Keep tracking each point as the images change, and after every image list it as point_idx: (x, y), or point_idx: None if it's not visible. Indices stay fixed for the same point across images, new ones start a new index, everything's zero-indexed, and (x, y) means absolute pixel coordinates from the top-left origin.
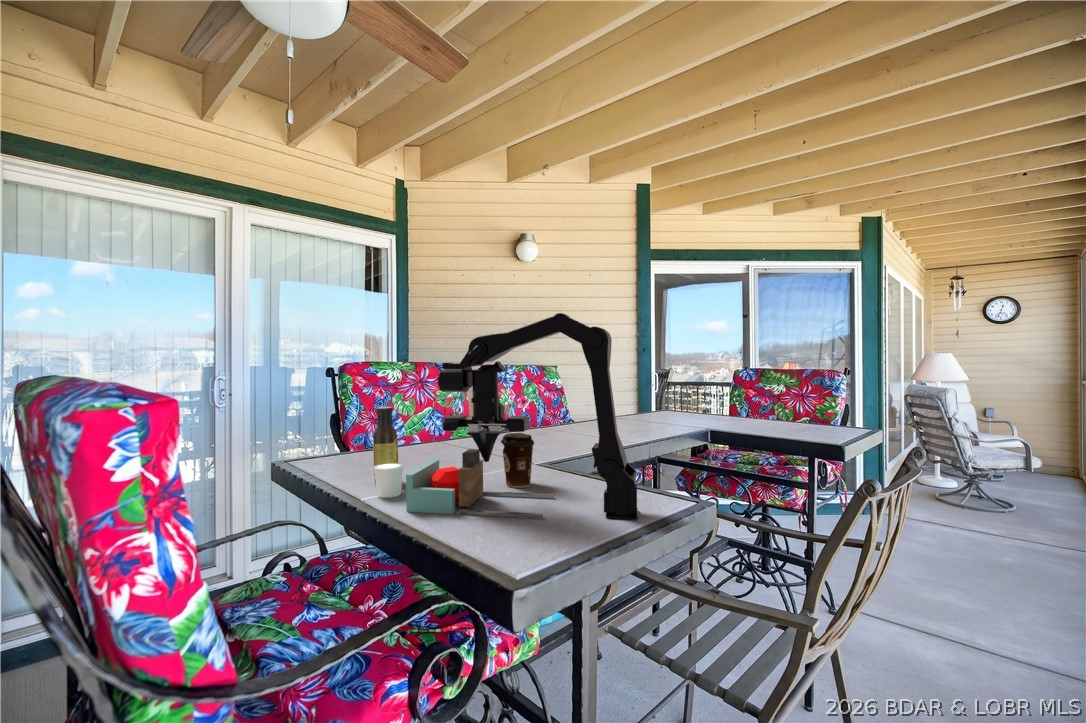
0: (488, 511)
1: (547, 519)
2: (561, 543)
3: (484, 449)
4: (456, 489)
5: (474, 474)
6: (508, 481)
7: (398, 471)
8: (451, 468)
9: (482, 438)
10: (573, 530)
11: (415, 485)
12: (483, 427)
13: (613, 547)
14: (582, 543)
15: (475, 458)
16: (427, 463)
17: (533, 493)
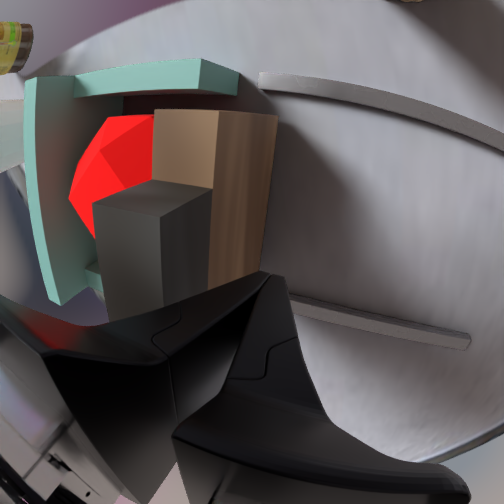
0: (323, 314)
1: (472, 344)
2: (444, 432)
3: (227, 369)
4: None
5: (226, 267)
6: None
7: (7, 149)
8: (103, 192)
9: (169, 442)
10: (489, 393)
11: (81, 272)
12: (72, 476)
13: (499, 434)
14: (472, 429)
15: (188, 293)
16: (25, 146)
17: (482, 126)
